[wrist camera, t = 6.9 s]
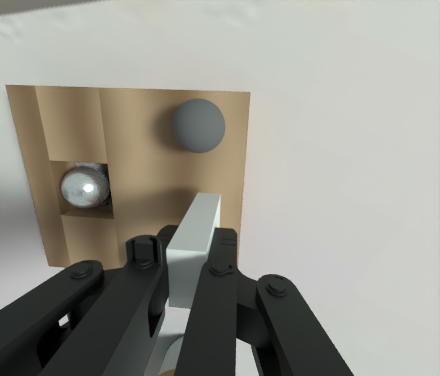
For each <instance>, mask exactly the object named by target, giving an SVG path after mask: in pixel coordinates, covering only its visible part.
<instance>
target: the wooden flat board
mask: <svg viewBox="0 0 440 376" xmlns="http://www.w3.org/2000/svg"><path fill="white" fill-rule="evenodd" d="M5 86H6V90H7V94H8V99H9V103H10V107H11V111H12V115H13V119H14V124H15V128H16V132H17V136H18V140H19V144H20V149H21V153H22V157H23V161H24V165H25V169H26V174H27V178H28V182H29V186H30V190H31V194H32V199H33V203H34V207H35V211H36V215H37V219H38V224H39V228H40V232H41V236H42V240H43V244H44V249H45V253H46V257H47V261H48V265H49V266H53V267H63V268H67V267H69V266H71V265H72V264H74V263H77V262H80V261H84V260H98V261H99V262H101V263H102V265H103V270H108V269H116V268H121V267H123V266H124V265H125V264H126V262H127V253H126V244H125V242H126V241H128V240H129V239H131V238H133V237H135V236H139V235H154V236H156V235H157V234H158V232H159V231H160V229H162V228H163V227H165V226H166V225H180V224H181V222H182V220H183V218H184V217H185V215H186V213H187V211H188V209H189V208H190V206H191V204H192V202H193V201H194V199H195V197H196V195H197V194H198V193H214V194H221V200H220V227H219V228H232V229H234V230H235V231H236V232H237V267H238V255H239V241H240V228H241V214H242V200H243V186H244V173H245V159H246V145H247V131H248V118H249V104H250V92H231V91H197V90H163V89H129V88H95V87H60V86H26V85H5ZM197 98H199V99H205V100H208V101H210V102H212V103H214V104H215V105H216V106H217V107H218V108H219V109H220V111H221V112H222V114H223V117H224V120H225V133H224V136H223V139H222V141H221V142H220V144H219V145H218V146H217V147H216V148H214V149H213V150H211V151H209V152H205V153H194V152H191V151H188V150H186V149H185V148H183V147H182V146H181V145H180V144H179V143H178V141H177V140H176V138H175V136H174V133H173V127H172V123H173V117H174V115H175V112H176V111H177V109H178V108H179V107H180V106H181V105H182V104H183V103H184V102H186V101H188V100H191V99H197ZM75 162H87V163H105V164H108V172H109V180H110V189H111V197H112V205H113V206H99V205H97V206H95V207H91V208H80V207H76V206H74V205H72V204H70V203H69V202H68V201H67V200H66V199H65V198H64V196H63V194H62V191H61V184H62V181H63V178H64V177H65V176H66V174H67V173H69V172H70V171H71V170H73V169H75V168H76V167H75Z"/></svg>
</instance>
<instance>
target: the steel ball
mask: <svg viewBox="0 0 440 376" xmlns="http://www.w3.org/2000/svg"><path fill="white" fill-rule="evenodd" d="M109 190H110V185H109V181H108V179H107V177H106V176H105V175H104V174H103V173H102V172H101V171H99V170H98V169H95V168H92V167H79V168H75V169H73V170H71V171H70V172H69V173H67V174H66V176H65V177H64V178H63V181H62V184H61V191H62V194H63V196H64V198H65V199H66V200H67V201H68V202H69V203H70V204H72V205H74V206H76V207H80V208H91V207H95V206H97V205H99V204H101V203H102V202H103V201H104V200H105V199H106V198H107V196H108V194H109Z"/></svg>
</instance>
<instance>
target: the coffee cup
mask: <svg viewBox="0 0 440 376" xmlns="http://www.w3.org/2000/svg"><path fill="white" fill-rule="evenodd" d="M183 338H184V336H182V337H180V338H178V339H177V340H176V341H174V343H173V344H172V345H171V346H170V347H169V349H168V350H167V353H166V355H165V358H164V360H163V363H162V366H161V368H160V371H159V373H158V376H174V372H175V368H176V364H177V361H178V357H179V353H180V349H181V345H182V341H183Z"/></svg>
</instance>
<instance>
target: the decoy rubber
mask: <svg viewBox="0 0 440 376" xmlns="http://www.w3.org/2000/svg"><path fill="white" fill-rule="evenodd" d="M172 127H173V133H174V136H175V138H176V140H177V141H178V143H179V144H180V145H181V146H182V147H183V148H185V149H186V150H188V151H191V152H194V153H205V152H209V151H211V150H213V149H214V148H216V147H217V146H218V145H219V144H220V142H221V141H222V139H223V136H224V133H225V120H224V117H223V114H222V112H221V111H220V109H219V108H218V107H217V106H216V105H215V104H214V103H212V102H210V101H208V100H205V99H199V98H197V99H191V100H188V101H186V102H184V103H183V104H182V105H181V106H180V107H179V108H178V109H177V111H176V112H175V115H174V117H173V123H172Z"/></svg>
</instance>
